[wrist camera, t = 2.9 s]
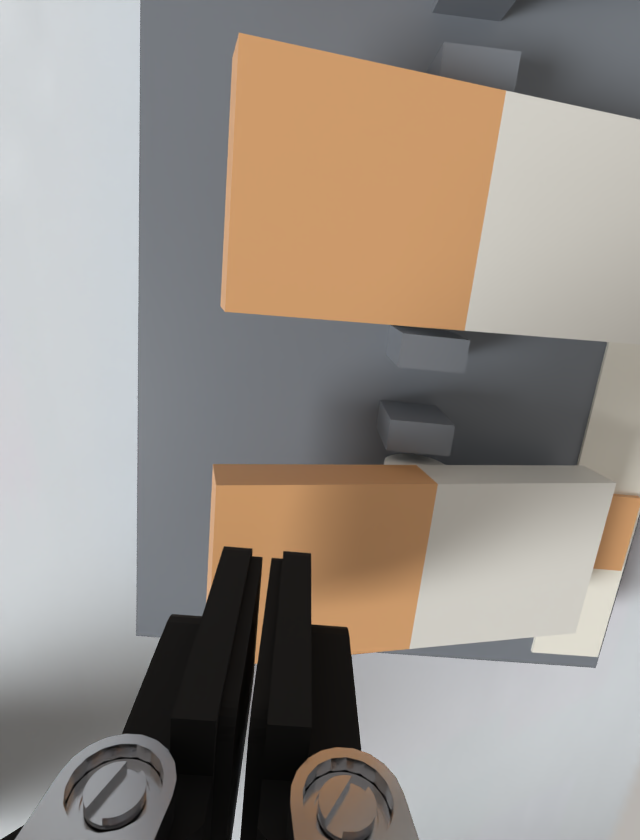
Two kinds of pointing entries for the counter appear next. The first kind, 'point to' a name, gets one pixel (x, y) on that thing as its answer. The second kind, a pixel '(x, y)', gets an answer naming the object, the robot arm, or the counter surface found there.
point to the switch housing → (353, 341)
